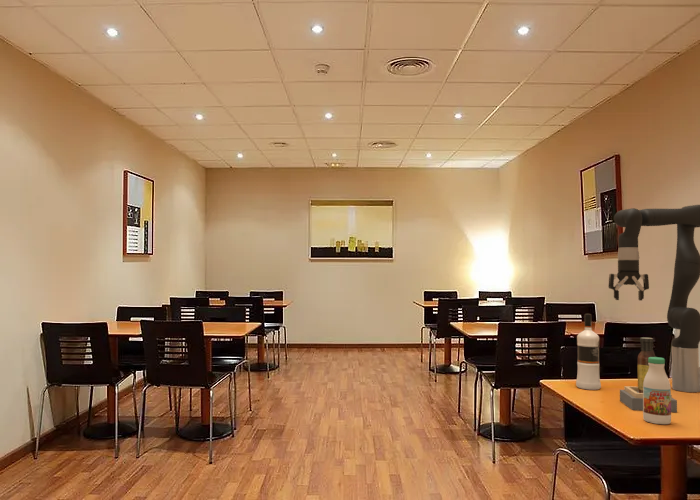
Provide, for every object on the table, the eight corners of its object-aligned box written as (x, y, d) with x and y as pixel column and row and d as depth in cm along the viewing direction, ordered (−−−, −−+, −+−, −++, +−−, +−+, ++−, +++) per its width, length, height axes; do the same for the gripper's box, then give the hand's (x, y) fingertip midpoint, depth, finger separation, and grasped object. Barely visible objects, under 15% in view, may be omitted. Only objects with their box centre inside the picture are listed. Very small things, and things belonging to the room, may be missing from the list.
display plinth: (661, 402, 198) (661, 387, 198) (677, 412, 184) (676, 395, 184) (619, 400, 201) (619, 385, 201) (632, 410, 187) (632, 393, 187)
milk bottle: (637, 418, 176) (637, 355, 177) (660, 418, 177) (660, 355, 177) (653, 425, 168) (652, 359, 169) (676, 424, 169) (676, 359, 170)
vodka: (579, 384, 229) (579, 312, 230) (603, 387, 223) (602, 313, 224) (573, 388, 221) (573, 313, 223) (597, 391, 216) (597, 315, 217)
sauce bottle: (660, 397, 189) (660, 339, 190) (641, 396, 190) (640, 338, 191) (654, 393, 195) (653, 337, 196) (635, 392, 196) (634, 336, 197)
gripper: (644, 259, 219) (644, 300, 219) (606, 259, 222) (606, 299, 221) (651, 259, 212) (651, 301, 211) (611, 258, 214) (612, 300, 214)
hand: (628, 300), depth 216 cm, fingers open, 8 cm apart
